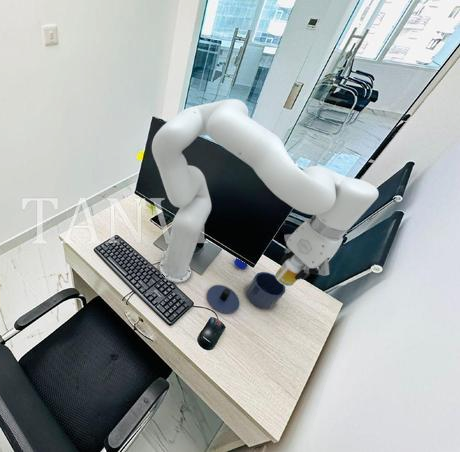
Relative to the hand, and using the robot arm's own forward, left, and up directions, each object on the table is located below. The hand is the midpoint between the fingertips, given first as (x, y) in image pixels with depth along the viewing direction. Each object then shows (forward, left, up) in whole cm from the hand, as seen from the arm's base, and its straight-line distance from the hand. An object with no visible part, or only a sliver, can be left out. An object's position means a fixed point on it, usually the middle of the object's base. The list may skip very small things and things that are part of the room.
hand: (291, 269), depth 76 cm
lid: (-7, -11, -23) cm, 26 cm away
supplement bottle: (0, 0, -5) cm, 5 cm away
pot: (-4, +4, -23) cm, 24 cm away
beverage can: (-19, +6, -23) cm, 31 cm away
